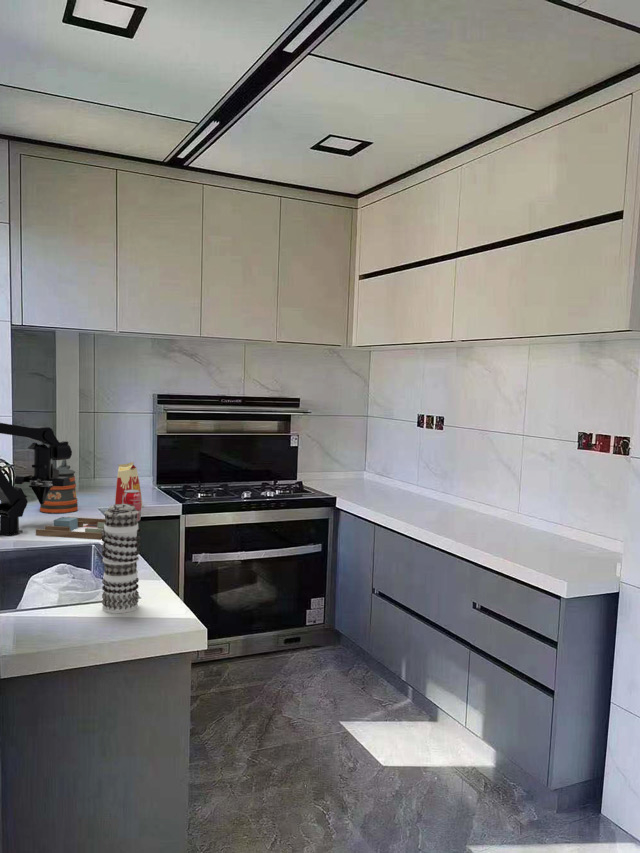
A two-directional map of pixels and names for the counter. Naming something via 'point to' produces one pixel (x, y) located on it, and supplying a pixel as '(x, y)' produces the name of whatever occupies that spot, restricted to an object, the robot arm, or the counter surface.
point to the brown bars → (65, 531)
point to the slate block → (67, 522)
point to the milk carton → (126, 481)
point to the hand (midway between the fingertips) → (41, 504)
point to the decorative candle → (120, 559)
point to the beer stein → (61, 494)
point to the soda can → (133, 500)
